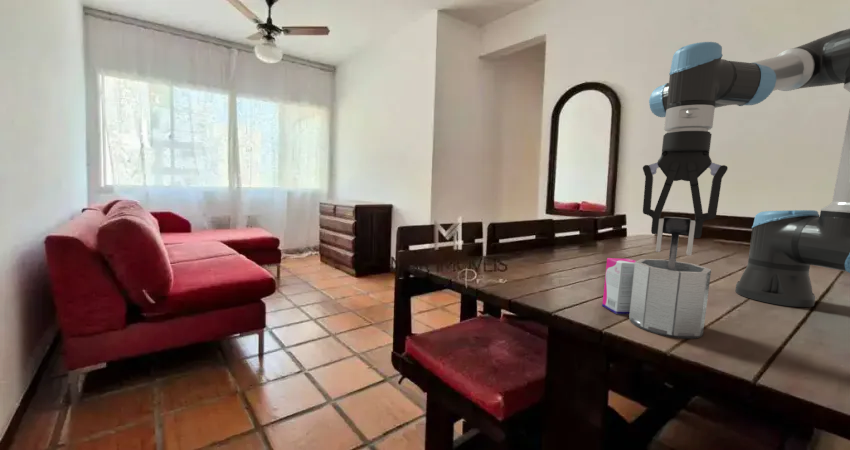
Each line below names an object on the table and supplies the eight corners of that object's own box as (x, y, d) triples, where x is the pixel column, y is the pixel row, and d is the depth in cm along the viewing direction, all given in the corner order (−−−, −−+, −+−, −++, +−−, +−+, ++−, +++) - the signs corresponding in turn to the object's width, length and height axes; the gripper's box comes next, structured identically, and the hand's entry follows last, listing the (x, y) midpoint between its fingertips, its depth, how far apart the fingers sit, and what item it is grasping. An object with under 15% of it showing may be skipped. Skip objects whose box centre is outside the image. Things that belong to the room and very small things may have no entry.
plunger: (671, 312, 78) (682, 216, 76) (698, 326, 71) (711, 220, 68) (636, 311, 78) (646, 215, 76) (658, 325, 71) (670, 219, 68)
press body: (666, 311, 84) (672, 257, 82) (719, 339, 69) (728, 274, 67) (611, 309, 84) (617, 255, 82) (653, 337, 69) (660, 272, 67)
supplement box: (641, 314, 81) (646, 263, 80) (616, 314, 80) (620, 263, 79) (625, 305, 87) (629, 257, 85) (601, 305, 86) (605, 257, 85)
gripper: (633, 131, 72) (621, 249, 75) (750, 126, 62) (732, 262, 65) (636, 136, 78) (625, 244, 81) (744, 132, 68) (727, 256, 71)
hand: (673, 252), depth 73 cm, fingers closed on plunger, 4 cm apart
